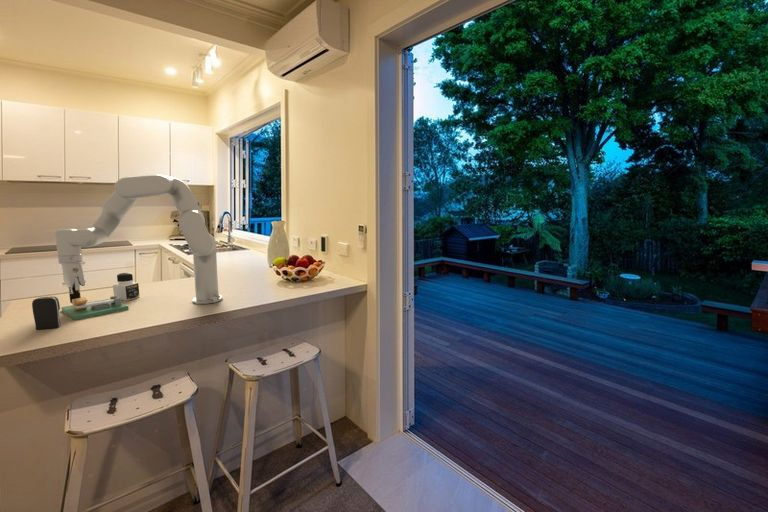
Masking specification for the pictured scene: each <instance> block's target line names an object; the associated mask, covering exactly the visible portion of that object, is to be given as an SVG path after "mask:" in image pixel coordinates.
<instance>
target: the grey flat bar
mask: <svg viewBox="0 0 768 512" xmlns="http://www.w3.org/2000/svg"><path fill="white" fill-rule="evenodd" d="M109 299H110V298H109ZM114 299H116V298H113V299H110V300H106V299H102V300H103V301H100V300H96V301H97V302H94V301H90V302H91V303H88V302H86V303H85V304H79V305H75V308H83V307H89V306H95V305H101V304H107V303H113V302H115V301H114Z"/></svg>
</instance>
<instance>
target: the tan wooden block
mask: <svg viewBox="0 0 768 512" xmlns="http://www.w3.org/2000/svg"><path fill="white" fill-rule="evenodd" d="M88 302H89V301H88V299H87V298H86V297H81V298H77V299H72V303H71V304H72V305H73V310H80V309H86V308H87V307H83V308H75V305H79V304H85V303H88Z"/></svg>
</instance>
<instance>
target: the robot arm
mask: <svg viewBox="0 0 768 512" xmlns="http://www.w3.org/2000/svg"><path fill="white" fill-rule="evenodd" d="M160 196H162V197H164V196H168V197H170V198H171V199H172V201H173V203H174V206H175V208H176V210H177V212H178V214H179V217H178V220H177V221H178V225H179V229H180V231H181V233H182V235H183V237H184V240H185V241H186V244H187V245H188V248H189V250H190V252H192V255H193V256H192V258H193V259H192V261H193V276H194V288H195V289H194V291H195V297H193V298H192V299H191V300H192V303H194V304H196V305H207V304H215V303H219V302H221V301H223V296H222V295H221V294H219V293H220V292H219V281H218V263H217V262H218V259H217V242H216V239H215V237H214V236H213V235H212V234H211V233H210V232H209V230H208V228H207V226H206V218H205V216H204V214H203V213H202V210H201V209H200V208H201V207H200V205H199V204H198V201H197V200H196V198H195V195H194V193H193V192H192V190H191V188H190V187H189V186H188V184H187V183H185V182H184V181H183V180H181V179H179V178H178V177H177V178H176V177H173V176H170V175H164V174H149V175H148V174H147V175H140V176H129V177H127V176H125V177H121V178H120V179H118V180H117V181H116V182H115V184H114V191H113V192H112V193H111V194H110V195H109V197H108V198H107V199H106V200H105V201H104V202H103V204H102V206H101V207H102V208H101V209H102V212H101V214H100V216H99V217H98V219H96V221H95V222H94V223H93V224H92V225H91V226H90V227H87V228H82V229H77V228H59V229H56V230H55V233H54V235H55V237H54V238H55V244H56V253H57V259H58V264H59V265H61V269H62V276H63V282H64V285H66V287H68V293H69V294H68V295H69V302H70V304H72V299H77V298H82V297H81V288H80V286H82V287H84V286H85V285H86V281H85V275H84V270H83V266H82V263H83V254H82V248H90V247H94V246H97V245H101V244H103V243H104V242H106V241H107V240H108V238H109V237H111V235H112V234H114V233H113V232H115V230H116V229H117V228H118V227H119V225H120V223H121V222H122V221H123V219H124V218H125V216H126V215H127V214H128V213H129V211H130V210H131V209H132V208H133V207H134V206H135V205H136V203H137V202H138V201H139V200H140V199H141V198H150V197H160Z"/></svg>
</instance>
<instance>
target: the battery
mask: <svg viewBox="0 0 768 512" xmlns="http://www.w3.org/2000/svg"><path fill="white" fill-rule="evenodd" d="M60 305H61V304H60V300H59V298H58V297H57V296H40V297H37V298H35V299H33V300H32V302H31V307H32V314H33V320H34V324H35V325H34V326H35V330H47V329H55V328H56V329H57V328H60V327H61V321H60V310H61V306H60Z"/></svg>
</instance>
